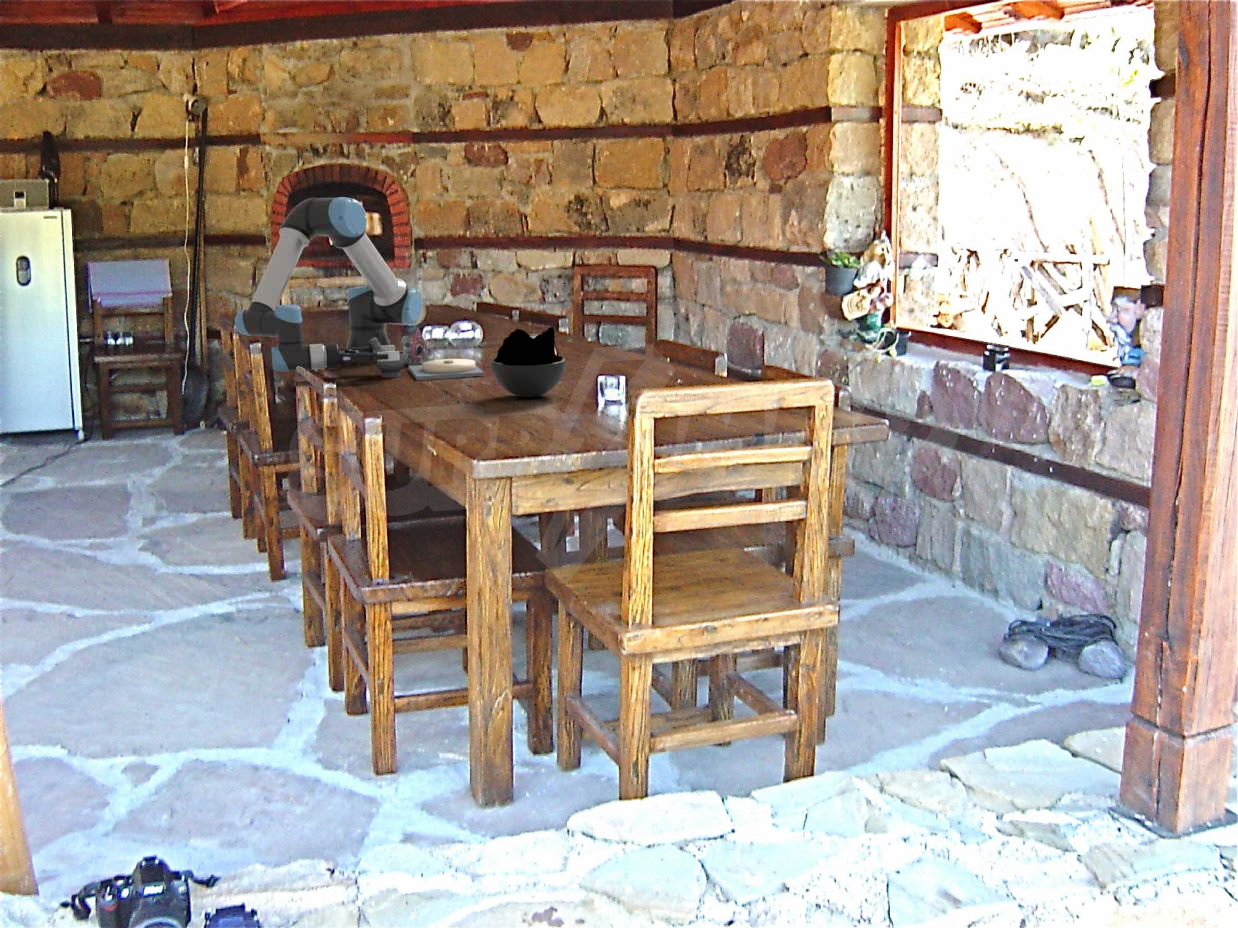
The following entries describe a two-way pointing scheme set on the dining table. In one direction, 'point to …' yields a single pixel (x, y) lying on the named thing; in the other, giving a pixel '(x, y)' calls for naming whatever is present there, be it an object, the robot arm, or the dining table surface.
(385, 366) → the mortar and pestle
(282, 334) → the robot arm
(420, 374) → the carrier board
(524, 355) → the coal bowl
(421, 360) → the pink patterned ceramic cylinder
